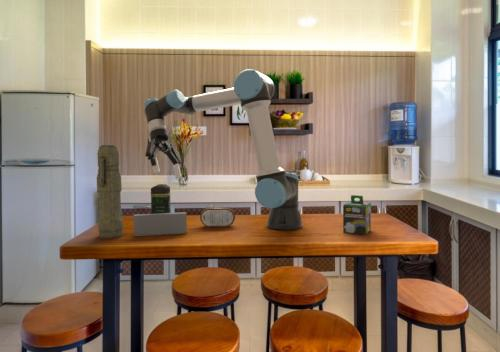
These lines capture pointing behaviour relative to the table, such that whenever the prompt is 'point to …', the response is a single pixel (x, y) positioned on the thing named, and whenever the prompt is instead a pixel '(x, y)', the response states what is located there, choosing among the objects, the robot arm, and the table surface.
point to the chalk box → (357, 216)
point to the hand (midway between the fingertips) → (168, 175)
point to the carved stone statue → (109, 192)
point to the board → (160, 224)
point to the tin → (217, 216)
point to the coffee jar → (160, 199)
